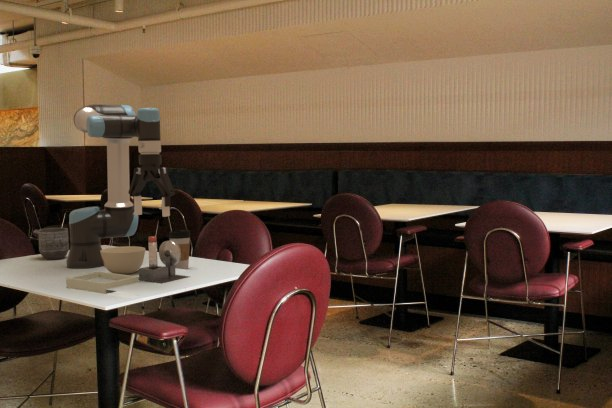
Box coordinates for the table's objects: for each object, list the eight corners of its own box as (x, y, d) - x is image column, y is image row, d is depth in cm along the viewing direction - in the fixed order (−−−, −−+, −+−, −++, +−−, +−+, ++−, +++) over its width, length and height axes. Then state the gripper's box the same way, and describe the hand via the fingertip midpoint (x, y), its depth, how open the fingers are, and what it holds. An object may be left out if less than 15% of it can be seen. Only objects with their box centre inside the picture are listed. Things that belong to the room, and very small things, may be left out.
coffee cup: (186, 271, 260) (185, 231, 258) (166, 270, 261) (164, 231, 260) (194, 267, 268) (193, 229, 267) (174, 266, 269) (173, 229, 268)
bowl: (142, 279, 243) (141, 252, 242) (96, 281, 242) (95, 253, 241) (149, 271, 259) (148, 245, 258) (106, 273, 258) (105, 247, 257)
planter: (33, 259, 293) (31, 230, 292) (53, 255, 304) (52, 227, 303) (55, 261, 288) (53, 231, 287) (75, 256, 299) (74, 228, 298)
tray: (66, 287, 231) (66, 277, 231) (100, 280, 243) (99, 271, 242) (105, 293, 220) (105, 283, 220) (138, 286, 231) (138, 276, 231)
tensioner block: (129, 283, 237) (127, 243, 236) (159, 276, 249) (157, 238, 247) (161, 287, 228) (160, 246, 227) (191, 280, 240) (189, 241, 238)
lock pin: (147, 279, 235) (146, 237, 234) (154, 278, 238) (152, 236, 236) (153, 280, 234) (152, 237, 233) (159, 278, 236) (158, 236, 235)
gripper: (116, 154, 236) (119, 215, 238) (167, 153, 222) (170, 218, 224) (133, 153, 242) (135, 213, 244) (184, 153, 228) (186, 216, 230)
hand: (152, 215), depth 234 cm, fingers open, 13 cm apart
